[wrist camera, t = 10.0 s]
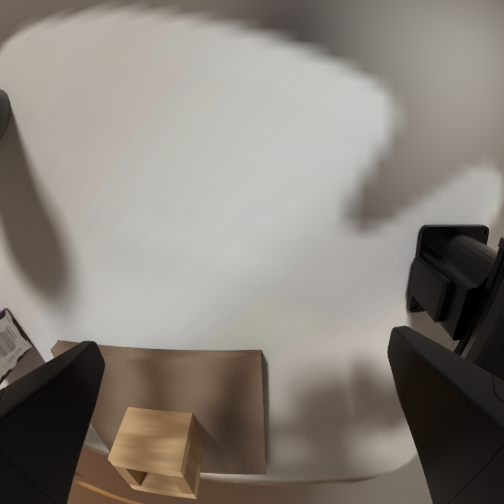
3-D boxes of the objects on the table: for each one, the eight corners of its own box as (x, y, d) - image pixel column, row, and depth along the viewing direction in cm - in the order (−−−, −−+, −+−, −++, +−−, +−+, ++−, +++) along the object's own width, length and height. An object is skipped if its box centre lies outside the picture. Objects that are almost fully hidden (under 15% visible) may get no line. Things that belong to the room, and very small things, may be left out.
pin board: (261, 349, 22) (261, 418, 16) (265, 463, 28) (266, 510, 22) (58, 340, 22) (22, 387, 16) (119, 450, 29) (105, 491, 23)
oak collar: (192, 412, 23) (180, 471, 17) (203, 447, 25) (196, 498, 19) (128, 406, 23) (107, 458, 17) (146, 442, 25) (133, 488, 19)
